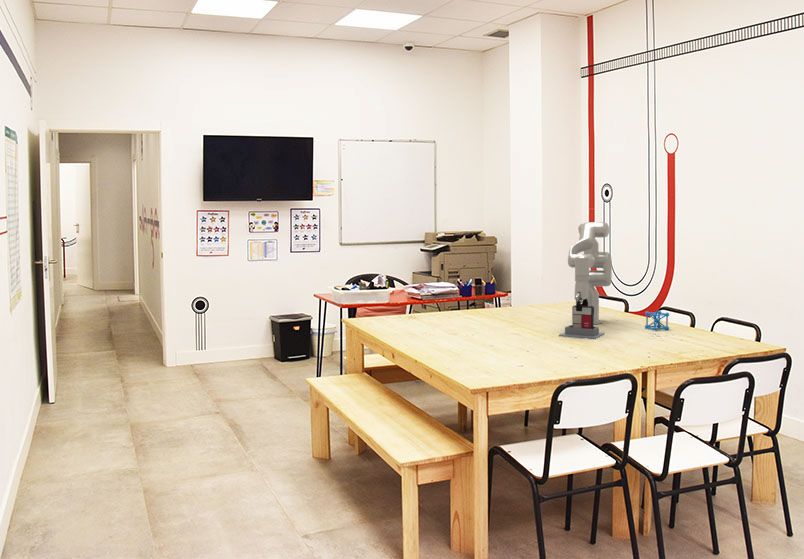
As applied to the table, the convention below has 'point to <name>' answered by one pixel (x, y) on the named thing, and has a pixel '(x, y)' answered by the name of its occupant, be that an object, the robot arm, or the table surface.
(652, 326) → the molecular structure
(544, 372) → the table surface
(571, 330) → the desk holder
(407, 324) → the table surface
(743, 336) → the table surface
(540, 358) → the table surface
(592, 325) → the multicoloured piece
